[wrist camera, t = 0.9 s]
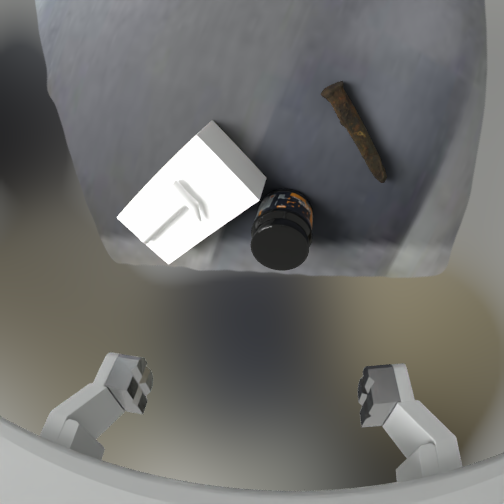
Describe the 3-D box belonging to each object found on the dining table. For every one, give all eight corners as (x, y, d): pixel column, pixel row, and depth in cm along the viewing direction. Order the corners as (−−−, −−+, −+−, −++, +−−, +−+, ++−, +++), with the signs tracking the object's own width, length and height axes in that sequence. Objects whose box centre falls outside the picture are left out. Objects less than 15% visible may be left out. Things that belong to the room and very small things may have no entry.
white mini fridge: (266, 177, 57) (257, 207, 48) (182, 239, 70) (164, 272, 62) (212, 119, 51) (191, 140, 43) (135, 195, 64) (110, 224, 56)
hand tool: (319, 88, 44) (319, 94, 41) (340, 78, 43) (343, 83, 39) (368, 181, 53) (371, 193, 50) (387, 173, 51) (392, 185, 48)
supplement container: (323, 219, 60) (323, 259, 51) (278, 240, 65) (270, 281, 56) (294, 176, 55) (289, 211, 46) (248, 201, 60) (234, 239, 51)
